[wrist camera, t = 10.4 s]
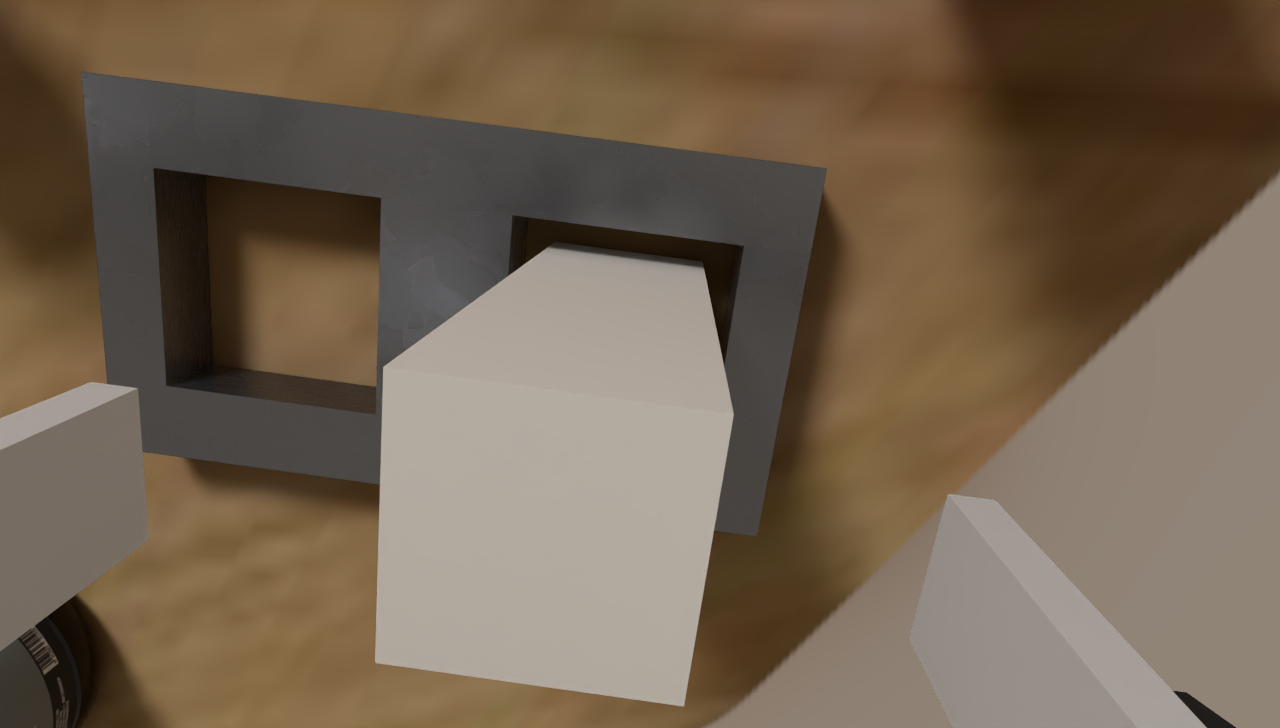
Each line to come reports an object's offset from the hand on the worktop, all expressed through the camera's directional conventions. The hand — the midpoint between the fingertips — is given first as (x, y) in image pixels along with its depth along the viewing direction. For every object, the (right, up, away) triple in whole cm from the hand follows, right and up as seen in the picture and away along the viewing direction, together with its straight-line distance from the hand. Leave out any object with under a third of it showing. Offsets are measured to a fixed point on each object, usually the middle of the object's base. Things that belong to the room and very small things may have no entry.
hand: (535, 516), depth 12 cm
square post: (+1, +4, +13) cm, 14 cm away
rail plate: (-4, +5, +14) cm, 15 cm away
